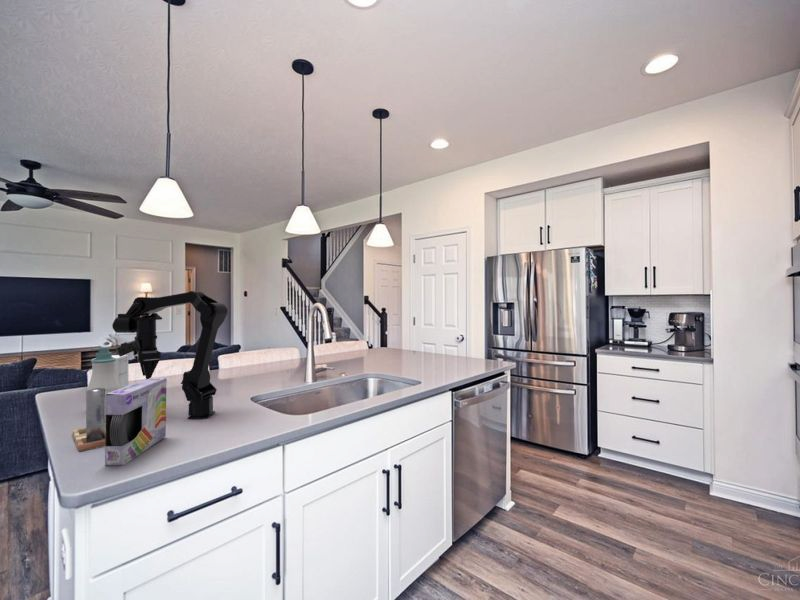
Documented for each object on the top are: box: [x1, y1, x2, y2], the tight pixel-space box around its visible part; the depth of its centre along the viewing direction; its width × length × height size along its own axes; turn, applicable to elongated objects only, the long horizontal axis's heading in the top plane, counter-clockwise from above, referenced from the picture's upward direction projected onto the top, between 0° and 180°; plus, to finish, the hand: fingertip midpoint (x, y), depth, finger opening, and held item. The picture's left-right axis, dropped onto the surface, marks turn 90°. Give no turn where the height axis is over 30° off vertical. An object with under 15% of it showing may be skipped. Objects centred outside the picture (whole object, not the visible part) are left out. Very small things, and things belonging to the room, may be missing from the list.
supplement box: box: [91, 354, 129, 389], centre depth 152 cm, size 10×9×17 cm
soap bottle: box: [87, 346, 120, 395], centre depth 133 cm, size 10×10×23 cm
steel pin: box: [85, 388, 105, 443], centre depth 101 cm, size 4×4×15 cm
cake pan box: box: [104, 376, 168, 466], centre depth 95 cm, size 19×5×18 cm, turn 3°
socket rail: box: [72, 426, 105, 452], centre depth 104 cm, size 18×8×2 cm, turn 46°
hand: (146, 377), depth 127 cm, fingers open, 9 cm apart
